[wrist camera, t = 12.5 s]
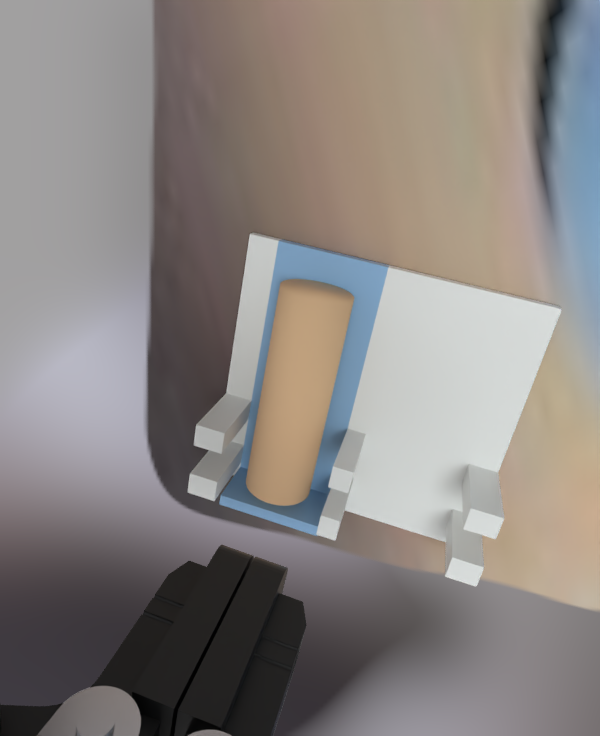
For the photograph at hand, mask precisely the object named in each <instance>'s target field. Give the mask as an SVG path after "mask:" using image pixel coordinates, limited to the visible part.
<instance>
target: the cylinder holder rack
mask: <svg viewBox="0 0 600 736" xmlns="http://www.w3.org/2000/svg"><path fill="white" fill-rule="evenodd" d="M288 279H306V280H314V281H319V282H324V283H328V284H331V285H334V286H337V287H340V288H342V289H344V290H346V291H348V292H350V293H351V294H352V295H353V296H354V302H353V306H352V311H351V315H350V319H349V324H348V328H347V332H346V337H345V341H344V345H343V350H342V354H341V358H340V363H339V367H338V371H337V376H336V380H335V384H334V389H333V393H332V397H331V402H330V406H329V410H328V414H327V419H326V423H325V427H324V432H323V436H322V440H321V445H320V449H319V453H318V458H317V462H316V466H315V471H314V475H313V479H312V484H311V488H310V492H309V495H308V497H307V498H306V499H305V500H304V501H302V502H300V503H298V504H295V505H289V506H280V505H274V504H270V503H266V502H264V501H262V500H260V499H258V498H256V497H255V496H254V495H253V494H252V493H251V492H250V491H249V490H248V488H247V486H246V477H247V471H248V465H249V459H250V454H251V448H252V442H253V436H254V431H255V425H256V419H257V414H258V408H259V402H260V396H261V391H262V385H263V379H264V373H265V368H266V362H267V356H268V351H269V345H270V339H271V333H272V328H273V322H274V316H275V310H276V305H277V299H278V293H279V287H280V283H281V282H282V281H284V280H288ZM561 310H562V309H561V307H560V306H558V305H554V304H549V303H545V302H541V301H537V300H533V299H529V298H524V297H520V296H516V295H512V294H508V293H504V292H500V291H495V290H491V289H487V288H483V287H479V286H475V285H470V284H466V283H462V282H458V281H454V280H450V279H445V278H441V277H437V276H433V275H429V274H425V273H421V272H416V271H412V270H408V269H404V268H400V267H396V266H391V265H387V264H383V263H379V262H375V261H371V260H366V259H362V258H358V257H354V256H350V255H346V254H342V253H337V252H333V251H329V250H325V249H321V248H317V247H312V246H308V245H304V244H300V243H296V242H292V241H287V240H283V239H279V238H275V237H271V236H267V235H263V234H258V233H251V234H250V237H249V243H248V250H247V257H246V263H245V270H244V277H243V284H242V290H241V297H240V304H239V310H238V317H237V324H236V331H235V337H234V344H233V351H232V357H231V364H230V371H229V377H228V384H227V391H226V394H225V395H224V396H223V397H222V398H221V399H220V400H219V401H218V402H217V403H216V404H215V405H214V407H213V408H212V409H211V410H210V411H209V412H208V413H207V414H206V415H205V416H204V417H203V418H202V419H201V420H200V421H199V422H198V423H197V424H196V430H195V438H194V446H197V447H200V448H204V449H207V450H209V451H208V452H207V453H206V455H205V456H204V457H203V458H202V459H201V461H200V462H199V463H198V464H197V466H196V467H195V468H194V469H193V470H192V472H191V473H190V477H189V485H188V493H191V494H194V495H197V496H200V497H203V498H206V499H209V500H212V501H215V499H216V498H217V496H218V495H219V494H220V492H221V491H222V489H223V488H224V486H225V485H226V483H227V482H228V481H229V479H230V478H231V476H232V475H234V477H233V478H232V480H231V481H230V482H229V484H228V485H227V487H226V488H225V490H224V491H223V493H222V494H221V497H220V503H219V504H220V505H223V506H226V507H229V508H232V509H235V510H238V511H242V512H245V513H248V514H251V515H254V516H257V517H260V518H263V519H266V520H269V521H272V522H275V523H278V524H281V525H284V526H287V527H290V528H294V529H297V530H300V531H303V532H306V533H309V534H312V535H315V536H317V535H319V536H322V537H325V538H329V539H332V540H336V537H337V534H338V530H339V527H340V524H341V521H342V517H343V514H344V511H348V512H352V513H355V514H358V515H361V516H364V517H367V518H370V519H374V520H377V521H380V522H383V523H386V524H389V525H393V526H396V527H399V528H402V529H405V530H408V531H412V532H415V533H418V534H421V535H424V536H427V537H431V538H434V539H437V540H440V541H443V542H446V557H445V577H448V578H452V579H454V580H457V581H460V582H464V583H466V584H470V585H473V586H477V584H478V581H479V579H480V576H481V574H482V571H483V569H484V559H483V545H482V535H483V536H487V537H490V538H493V539H496V537H497V535H498V533H499V530H500V528H501V525H502V523H503V520H504V512H503V505H502V498H501V490H500V483H499V475H498V472H499V469H500V466H501V464H502V461H503V459H504V456H505V454H506V451H507V449H508V446H509V443H510V441H511V438H512V436H513V433H514V431H515V428H516V425H517V423H518V420H519V418H520V415H521V413H522V410H523V408H524V405H525V402H526V400H527V397H528V395H529V392H530V390H531V387H532V384H533V382H534V379H535V377H536V374H537V372H538V369H539V367H540V364H541V361H542V359H543V356H544V354H545V351H546V349H547V346H548V344H549V341H550V338H551V336H552V333H553V331H554V328H555V326H556V323H557V320H558V318H559V315H560V313H561Z"/></svg>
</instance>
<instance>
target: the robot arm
mask: <svg viewBox="0 0 600 736" xmlns="http://www.w3.org/2000/svg"><path fill="white" fill-rule="evenodd" d="M287 571H288V568H286V567H284V566H281V565H278V564H275V563H272V562H269V561H267V560H264V559H261V558H258V557H255V558H254V557H253V556H252V555H249V554H246V553H244V552H241V551H238V550H235V549H232V548H229V547H227V546H224V545H221V546H220V547H219V548H218V549H217V551H216V553H215V554H214V556H213V557H212V559H211V561H210V563H209V564H208V566H207V567H205V566H202V565H200V564H197V563H194V562H191V561H188V562H187V563H185V564H184V565H182V566H181V567H179V568H178V569H176V570H175V571H173V572H172V573H170V574H169V575H168V576H167V578H166V579H165V581H164V582H163V584H162V585H161V587H160V588H159V590H158V591H157V592H156V594H155V597H154V598H152V600H151V601H150V603H149V604H148V606H147V607H146V609H145V610H144V613H143V615H141V616H140V618H139V619H138V621H137V622H136V624H135V625H134V627H133V628H132V629H131V631H130V633H129V634H128V635H127V637H126V638H125V640H124V641H123V643H122V644H121V646H120V647H119V649H118V650H117V652H116V653H115V655H114V656H113V658H112V659H111V661H110V662H109V664H108V665H107V667H106V668H105V669H104V671H103V672H102V674H101V675H100V677H99V678H98V679H97V681H96V682H95V683H94V684H93V685H92V686H91V687H90V688H87V689H84V690H82V691H80V692H78V693H76V694H75V695H73V696H71V697H70V698H69V699H68V700H66V701H65V702H64V703H61V704H58V705H52V706H40V707H39V706H14V705H0V736H273V735H274V731H275V728H276V725H277V721H278V719H279V716H280V712H281V709H282V706H283V703H284V700H285V697H286V693H287V690H288V687H289V684H290V681H291V678H292V674H293V671H294V667H295V664H296V660H297V656H298V653H299V649H300V646H301V642H302V639H303V635H304V632H305V628H306V620H305V613H304V606H303V602H302V601H299V600H296V599H293V598H291V597H288V596H285V595H283V594H282V592H283V588H284V584H285V580H286V575H287Z"/></svg>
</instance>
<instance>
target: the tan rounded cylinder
mask: <svg viewBox="0 0 600 736" xmlns="http://www.w3.org/2000/svg"><path fill="white" fill-rule="evenodd" d="M353 302H354V296H353V295H352V294H351V293H350V292H348V291H346V290H344V289H342V288H340V287H337V286H334V285H331V284H328V283H324V282H319V281H314V280H306V279H288V280H284V281H282V282H281V283H280V287H279V293H278V299H277V305H276V310H275V316H274V322H273V328H272V333H271V339H270V345H269V351H268V356H267V362H266V368H265V373H264V379H263V385H262V391H261V396H260V402H259V408H258V414H257V419H256V425H255V431H254V436H253V442H252V448H251V454H250V459H249V465H248V471H247V477H246V486H247V488H248V490H249V491H250V492H251V493H252V494H253V495H254V496H255V497H256V498H258V499H260V500H262V501H264V502H266V503H270V504H274V505H280V506H289V505H295V504H298V503H300V502H302V501H304V500H305V499H306V498H307V497H308V495H309V492H310V488H311V484H312V479H313V475H314V471H315V466H316V462H317V458H318V453H319V449H320V445H321V440H322V436H323V432H324V427H325V423H326V419H327V414H328V410H329V406H330V402H331V397H332V393H333V389H334V384H335V380H336V376H337V371H338V367H339V363H340V358H341V354H342V350H343V345H344V341H345V337H346V332H347V328H348V324H349V319H350V315H351V311H352V306H353Z"/></svg>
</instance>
